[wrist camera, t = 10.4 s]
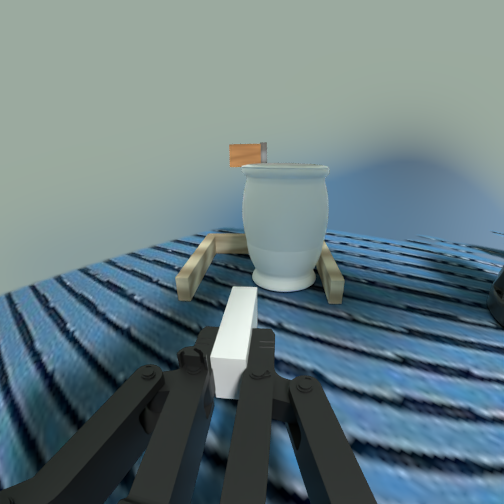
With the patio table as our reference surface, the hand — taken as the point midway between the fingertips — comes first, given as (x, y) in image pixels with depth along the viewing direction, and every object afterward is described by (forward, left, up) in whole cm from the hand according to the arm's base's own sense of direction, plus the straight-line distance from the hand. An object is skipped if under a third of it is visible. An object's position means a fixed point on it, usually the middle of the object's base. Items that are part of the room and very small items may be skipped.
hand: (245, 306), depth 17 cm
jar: (-10, -17, -7) cm, 21 cm away
